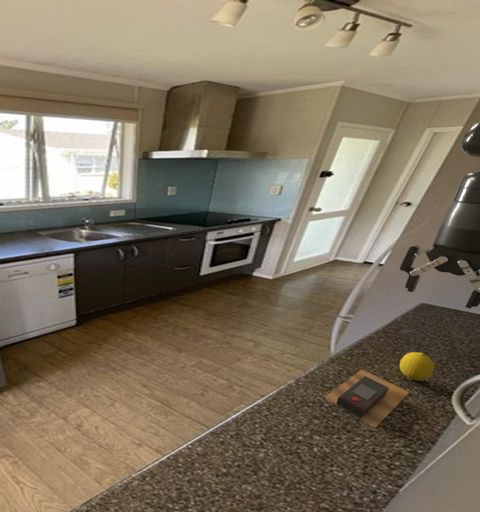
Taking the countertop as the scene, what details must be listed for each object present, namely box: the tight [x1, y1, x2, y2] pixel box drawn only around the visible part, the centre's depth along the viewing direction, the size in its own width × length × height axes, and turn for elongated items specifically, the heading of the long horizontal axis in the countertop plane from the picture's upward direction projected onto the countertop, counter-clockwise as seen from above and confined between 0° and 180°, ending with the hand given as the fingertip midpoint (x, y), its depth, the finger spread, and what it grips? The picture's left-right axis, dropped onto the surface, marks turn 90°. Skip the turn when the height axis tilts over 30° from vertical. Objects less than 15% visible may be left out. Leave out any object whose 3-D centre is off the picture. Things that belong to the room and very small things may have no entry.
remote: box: [335, 376, 389, 419], centre depth 65 cm, size 14×4×2 cm, turn 119°
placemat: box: [324, 368, 410, 429], centre depth 67 cm, size 20×9×1 cm, turn 119°
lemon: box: [399, 351, 435, 382], centre depth 71 cm, size 6×6×8 cm
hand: (438, 298), depth 62 cm, fingers open, 8 cm apart
